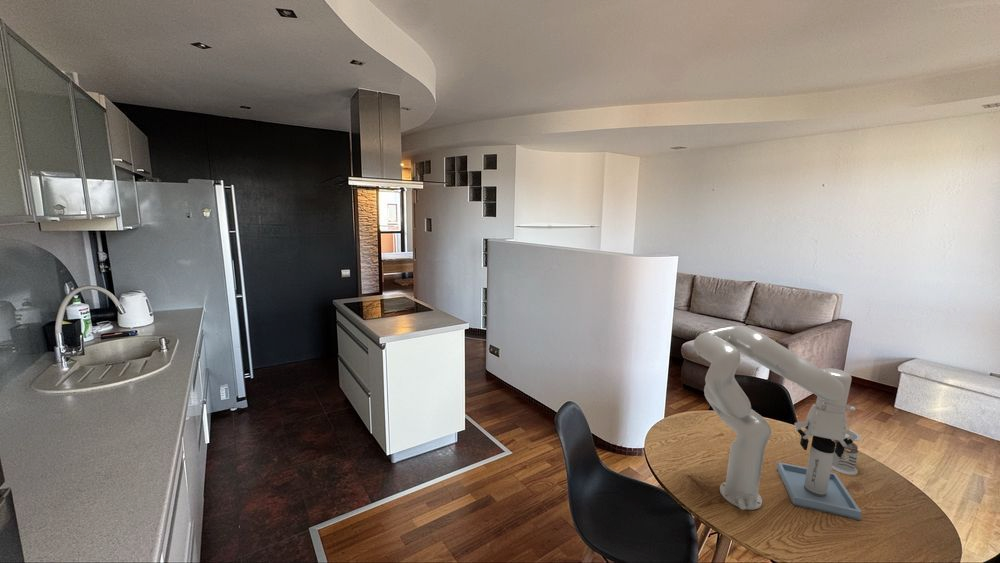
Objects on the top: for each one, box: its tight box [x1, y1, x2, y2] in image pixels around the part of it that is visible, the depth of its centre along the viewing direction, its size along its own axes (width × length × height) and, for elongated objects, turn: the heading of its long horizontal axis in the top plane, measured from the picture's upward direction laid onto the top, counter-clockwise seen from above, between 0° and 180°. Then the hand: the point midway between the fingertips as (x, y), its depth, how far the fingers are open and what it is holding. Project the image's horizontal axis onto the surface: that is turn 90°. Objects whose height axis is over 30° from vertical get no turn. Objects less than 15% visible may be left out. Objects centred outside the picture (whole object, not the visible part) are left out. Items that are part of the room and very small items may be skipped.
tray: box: [776, 461, 862, 521], centre depth 140 cm, size 20×18×3 cm
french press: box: [831, 406, 862, 476], centre depth 152 cm, size 10×12×25 cm
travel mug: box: [804, 435, 836, 497], centre depth 138 cm, size 6×7×20 cm
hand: (820, 451), depth 137 cm, fingers open, 9 cm apart
